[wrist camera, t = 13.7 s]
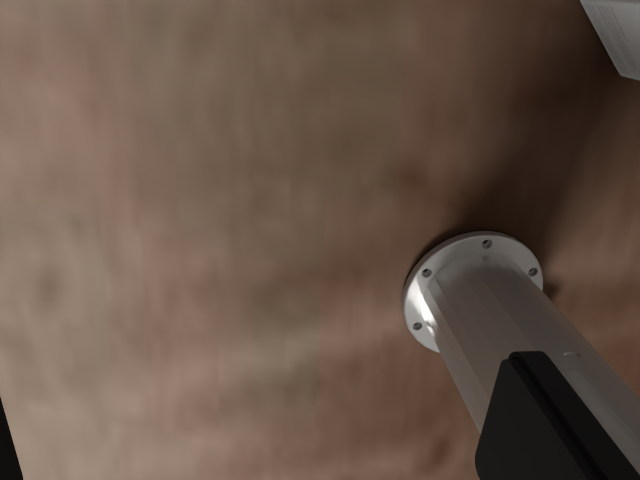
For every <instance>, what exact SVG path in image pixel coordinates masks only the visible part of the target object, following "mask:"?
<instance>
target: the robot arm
mask: <svg viewBox="0 0 640 480" xmlns="http://www.w3.org/2000/svg"><path fill="white" fill-rule="evenodd" d="M542 291H543V275H542V270H541V267H540V265H539V262H538V260H537V259H536V257H535V256H534V255H533V253H532V252H531V251H530V250H529V249H528V248H527V247H526V246H525V245H524V244H523V243H522V242H520V241H518V240H517V239H515V238H514V237H512V236H509V235H506V234H503V233H500V232H493V231H474V232H470V233H465V234H461V235H458V236H455V237H453V238H450V239H448V240H446V241H444V242H442V243H441V244H439V245H437V246H436V247H434V248H433V249H432V250H430V251H429V252H428V253H427V254H426V255H424V256H423V257H422V259H421V260H420V261H419V262H418V263H417V264H416V265H415V267H414V268H413V270H412V272H411V273H410V275H409V276H408V278H407V281H406V284H405V286H404V289H403V295H402V312H403V315H404V318H405V321H406V324H407V326H408V328H409V330H410V332H411V333H412V334H413V336H414V337H415V338H416V340H418V341H419V342H420V343H421V344H423V345H424V346H425V347H427V348H429V349H431V350H433V351H435V352H439V353H441V355H442V358H443V360H444V362H445V364H446V366H447V368H448V370H449V372H450V374H451V376H452V378H453V380H454V382H455V384H456V386H457V388H458V390H459V392H460V394H461V396H462V398H463V400H464V402H465V404H466V406H467V408H468V410H469V412H470V414H471V417H472V419H473V421H474V423H475V425H476V427H477V429H478V431H479V433H480V435H481V436H480V439H479V443H478V446H477V450H476V454H475V466H476V470H477V473H478V476H479V478H480V480H640V398H639V397H638V396H637V395H636V394H635V393H634V392H633V391H632V390H631V388H630V387H629V386H628V385H627V384H626V383H625V382H624V381H623V380H622V379H621V377H620V376H619V375H618V374H617V373H616V372H615V371H614V370H613V369H612V368H611V366H610V365H609V364H608V363H607V362H606V361H605V360H604V359H603V358H602V357H601V355H600V354H599V353H598V352H597V351H596V350H595V349H594V348H593V347H592V346H591V344H590V343H589V342H588V341H587V340H586V339H585V338H584V337H583V336H582V335H581V333H580V332H579V331H578V330H577V329H576V328H575V327H574V326H573V325H572V324H571V322H570V321H569V320H568V319H567V318H566V317H565V316H564V315H563V314H562V313H561V312H560V310H559V309H558V308H557V307H556V306H555V305H554V304H553V303H552V302H551V301H550V299H549V298H548V297H547V296H546V295H545V294H544V293H543V292H542ZM0 480H23V475H22V472H21V468H20V465H19V461H18V458H17V454H16V451H15V447H14V444H13V440H12V437H11V433H10V430H9V426H8V423H7V419H6V415H5V412H4V408H3V405H2V401H1V398H0Z"/></svg>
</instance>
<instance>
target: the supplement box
mask: <svg viewBox="0 0 640 480" xmlns="http://www.w3.org/2000/svg"><path fill="white" fill-rule="evenodd" d="M580 2H581V4H582V6H583V8H584V10H585V12H586V14H587V15H588V17H589V19H590V21H591V23H592V24H593V27H594V29H595V30H596V32H597V34H598V36H599V38H600V40H601V42H602V43H603V45H604V47H605V49H606V51H607V53H608V55H609V56H610V58H611V60H612V62H613V64H614V66H615V67H616V69H617V71H618V73H619V74H620V75H621V76H623V77H627V78H631V79H635V80H639V81H640V0H580Z"/></svg>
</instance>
